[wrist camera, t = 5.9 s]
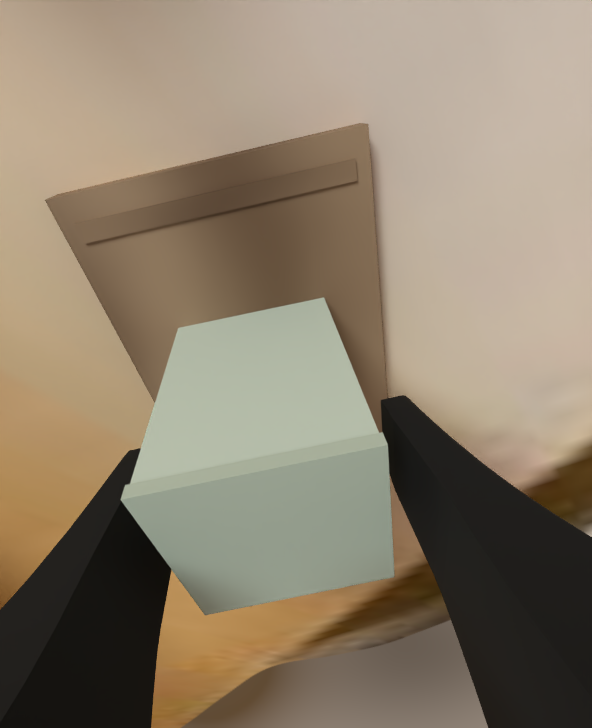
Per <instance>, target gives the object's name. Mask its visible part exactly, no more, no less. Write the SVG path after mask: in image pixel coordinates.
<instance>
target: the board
mask: <svg viewBox="0 0 592 728" xmlns="http://www.w3.org/2000/svg"><path fill="white" fill-rule="evenodd" d="M45 201H46V203H47V205H48V207H49V208H50V210H51V212H52V214H53V216H54V218H55V219H56V221H57V223H58V225H59V227H60V229H61V231H62V232H63V234H64V236H65V238H66V240H67V242H68V243H69V245H70V247H71V249H72V251H73V253H74V255H75V256H76V258H77V260H78V262H79V264H80V266H81V267H82V269H83V271H84V273H85V275H86V277H87V279H88V280H89V282H90V284H91V286H92V288H93V290H94V292H95V293H96V295H97V297H98V299H99V301H100V303H101V304H102V306H103V308H104V310H105V312H106V314H107V316H108V317H109V319H110V321H111V323H112V325H113V327H114V328H115V330H116V332H117V334H118V336H119V338H120V340H121V341H122V343H123V345H124V347H125V349H126V351H127V352H128V354H129V356H130V358H131V360H132V362H133V364H134V365H135V367H136V369H137V371H138V373H139V375H140V376H141V378H142V380H143V382H144V384H145V386H146V388H147V389H148V391H149V393H150V395H151V397H152V399H153V401H154V402H155V401H156V398H157V395H158V392H159V388H160V385H161V382H162V379H163V376H164V372H165V369H166V366H167V363H168V359H169V356H170V353H171V350H172V346H173V343H174V340H175V337H176V333H177V330H178V328H180V327H185V326H190V325H195V324H199V323H204V322H209V321H214V320H218V319H223V318H228V317H233V316H238V315H242V314H247V313H252V312H257V311H261V310H266V309H271V308H276V307H280V306H285V305H290V304H295V303H300V302H304V301H309V300H314V299H319V298H323V297H324V299H325V301H326V304H327V306H328V309H329V311H330V313H331V316H332V318H333V321H334V323H335V326H336V328H337V331H338V333H339V336H340V338H341V341H342V343H343V345H344V348H345V350H346V353H347V355H348V358H349V360H350V363H351V365H352V368H353V370H354V372H355V375H356V377H357V380H358V382H359V385H360V387H361V390H362V392H363V395H364V397H365V399H366V402H367V404H368V407H369V409H370V412H371V414H372V417H373V419H374V422H375V424H376V426H377V429H378V431H379V433H381V432H382V418H381V400H383V399H387V385H386V371H385V357H384V342H383V328H382V314H381V300H380V286H379V271H378V257H377V243H376V229H375V215H374V200H373V186H372V172H371V158H370V144H369V129H368V124H362V123H359V124H355V125H351V126H346V127H342V128H338V129H334V130H329V131H325V132H321V133H317V134H312V135H308V136H304V137H300V138H295V139H291V140H287V141H283V142H278V143H274V144H270V145H266V146H261V147H257V148H253V149H249V150H244V151H240V152H236V153H232V154H227V155H223V156H219V157H215V158H210V159H206V160H202V161H198V162H193V163H189V164H185V165H181V166H176V167H172V168H168V169H164V170H159V171H155V172H151V173H147V174H142V175H138V176H134V177H130V178H125V179H121V180H117V181H113V182H108V183H104V184H100V185H95V186H91V187H87V188H83V189H78V190H74V191H70V192H66V193H61V194H57V195H55V196H53V197H51V198H49V199H46V200H45Z"/></svg>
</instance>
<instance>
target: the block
mask: <svg viewBox="0 0 592 728" xmlns="http://www.w3.org/2000/svg"><path fill="white" fill-rule="evenodd" d="M121 501H122V502H123V504H124V505H125V507H126V508H127V509H128V511H129V512H130V513H131V515H132V516H133V517H134V519H135V520H136V522H137V523H138V524H139V526H140V527H141V528H142V530H143V531H144V532H145V534H146V535H147V537H148V538H149V539H150V541H151V542H152V543H153V545H154V546H155V547H156V549H157V550H158V552H159V553H160V554H161V556H162V557H163V558H164V560H165V561H166V562H167V564H168V565H169V567H170V568H171V569H172V571H173V572H174V573H175V575H176V576H177V578H178V579H179V580H180V582H181V583H182V584H183V586H184V587H185V588H186V590H187V591H188V593H189V594H190V595H191V597H192V598H193V599H194V601H195V602H196V603H197V605H198V606H199V608H200V609H201V610H202V612H203V613H204V614H205V615H209V614H213V613H218V612H223V611H228V610H233V609H238V608H243V607H248V606H253V605H258V604H263V603H268V602H273V601H278V600H283V599H288V598H293V597H298V596H303V595H308V594H313V593H318V592H323V591H328V590H333V589H337V588H342V587H347V586H352V585H357V584H362V583H367V582H372V581H377V580H382V579H387V578H392V577H395V576H394V556H393V537H392V517H391V497H390V477H389V457H388V444H387V442H386V439H385V437H384V434H383V432H381V433H379V431H378V429H377V426H376V424H375V422H374V419H373V417H372V414H371V412H370V409H369V407H368V404H367V402H366V399H365V397H364V395H363V392H362V390H361V387H360V385H359V382H358V380H357V377H356V375H355V372H354V370H353V368H352V365H351V363H350V360H349V358H348V355H347V353H346V350H345V348H344V345H343V343H342V341H341V338H340V336H339V333H338V331H337V328H336V326H335V323H334V321H333V318H332V316H331V313H330V311H329V309H328V306H327V304H326V301H325V299H324V297H323V298H319V299H314V300H309V301H304V302H300V303H295V304H290V305H285V306H280V307H276V308H271V309H266V310H261V311H257V312H252V313H247V314H242V315H238V316H233V317H228V318H223V319H218V320H214V321H209V322H204V323H199V324H195V325H190V326H185V327H180V328H178V330H177V333H176V337H175V340H174V343H173V346H172V350H171V353H170V356H169V359H168V363H167V366H166V369H165V372H164V376H163V379H162V382H161V385H160V388H159V392H158V395H157V398H156V401H155V405H154V408H153V411H152V414H151V418H150V421H149V424H148V427H147V430H146V434H145V437H144V440H143V443H142V447H141V450H140V453H139V456H138V460H137V463H136V466H135V469H134V472H133V476H132V479H131V482H130V484H128V485H125V487H124V491H123V494H122V497H121Z"/></svg>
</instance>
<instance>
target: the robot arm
mask: <svg viewBox="0 0 592 728" xmlns="http://www.w3.org/2000/svg"><path fill="white" fill-rule="evenodd" d="M381 418H382V432H383V434H384V437H385V439H386V442H387V444H388V457H389V473H390V476H391V479H392V482H393V485H394V488H395V491H396V493H397V495H398V497H399V500H400V502H401V504H402V506H403V508H404V511H405V513H406V515H407V517H408V519H409V522H410V524H411V526H412V528H413V530H414V532H415V535H416V537H417V539H418V541H419V543H420V546H421V548H422V550H423V552H424V554H425V556H426V559H427V561H428V563H429V565H430V567H431V569H432V572H433V574H434V576H435V579H436V581H437V583H438V586H439V588H440V591H441V593H442V596H443V598H444V601H445V604H446V607H447V610H448V612H449V615H450V618H451V621H452V623H453V626H454V629H455V632H456V635H457V637H458V640H459V643H460V646H461V649H462V651H463V655H464V657H465V660H466V663H467V666H468V669H469V672H470V675H471V677H472V680H473V683H474V686H475V689H476V692H477V695H478V698H479V701H480V704H481V707H482V710H483V713H484V716H485V719H486V722H487V725H488V728H592V537H590V536H589V535H587V534H585V533H584V532H582V531H581V530H579V529H577V528H576V527H574V526H573V525H571V524H569V523H568V522H566V521H565V520H563V519H561V518H560V517H558V516H557V515H555V514H554V513H552V512H551V511H549V510H547V509H546V508H544V507H543V506H541V505H540V504H538V503H537V502H535V501H534V500H532V499H531V498H529V497H528V496H527V495H525V494H524V493H522V492H521V491H519V490H518V489H517V488H515V487H514V486H512V485H511V484H510V483H508V482H507V481H506V480H504V479H503V478H502V477H500V476H499V475H498V474H496V473H495V472H494V471H492V470H491V469H490V468H488V467H487V466H486V465H484V464H483V463H482V462H481V461H479V460H478V459H477V458H475V457H474V456H473V455H472V454H471V453H469V452H468V451H467V450H466V449H465V448H463V447H462V446H461V445H460V444H459V443H457V442H456V441H455V440H454V439H452V438H451V437H450V436H449V435H448V434H447V433H446V432H444V431H443V430H442V429H441V428H440V427H439V426H438V425H437V424H435V423H434V422H433V421H432V420H431V419H430V418H429V417H428V416H427V415H426V414H424V413H423V412H422V411H421V410H420V409H419V408H418V407H417V406H416V405H415V404H414V403H413V402H412V401H411V400H410V399H409V398H407V397H406V396H404V395H403V396H398V397H393V398H388V399H383V400H381ZM140 450H141V448H140V449H135V450H130V451H128V453H127V454H126V455H125V456H124V458H123V459H122V460H121V462H120V463H119V464H118V465H117V467H116V468H115V469H114V471H113V472H112V473H111V475H110V476H109V477H108V479H107V480H106V482H105V483H104V484H103V486H102V487H101V488H100V490H99V491H98V492H97V494H96V495H95V496H94V498H93V499H92V500H91V501H90V503H89V504H88V505H87V507H86V508H85V509H84V511H83V512H82V513H81V515H80V516H79V517H78V518H77V520H76V521H75V522H74V524H73V525H72V526H71V528H70V529H69V530H68V531H67V533H66V534H65V535H64V536H63V537H62V539H61V540H60V541H59V542H58V544H57V545H56V546H55V547H54V548H53V550H52V551H51V552H50V553H49V554H48V556H47V557H46V558H45V559H44V561H43V562H42V563H41V564H40V565H39V567H38V568H37V569H36V570H35V571H34V573H33V574H32V575H31V576H30V577H29V578H28V580H27V581H26V582H25V583H24V584H23V585H22V587H21V588H20V589H19V590H18V591H17V592H16V593H15V594H14V595H13V597H12V598H11V599H10V600H9V601H8V602H7V603H6V604H5V605H4V606H3V607H2V608H1V610H0V728H151V720H152V705H153V693H154V682H155V671H156V660H157V650H158V643H159V636H160V629H161V623H162V618H163V612H164V607H165V601H166V596H167V591H168V585H169V580H170V574H171V568H170V567H169V565H168V564H167V562H166V561H165V560H164V558H163V557H162V556H161V554H160V553H159V552H158V550H157V549H156V547H155V546H154V545H153V543H152V542H151V541H150V539H149V538H148V537H147V535H146V534H145V532H144V531H143V530H142V528H141V527H140V526H139V524H138V523H137V522H136V520H135V519H134V517H133V516H132V515H131V513H130V512H129V511H128V509H127V508H126V507H125V505H124V504H123V502H122V501H121V497H122V494H123V491H124V487H125V485H128V484H130V482H131V479H132V476H133V472H134V469H135V466H136V463H137V460H138V456H139V453H140Z"/></svg>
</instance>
